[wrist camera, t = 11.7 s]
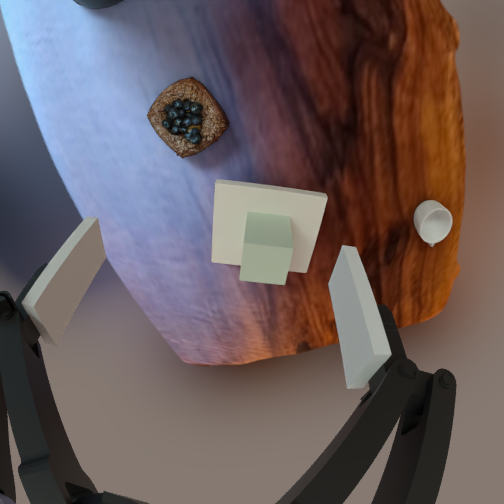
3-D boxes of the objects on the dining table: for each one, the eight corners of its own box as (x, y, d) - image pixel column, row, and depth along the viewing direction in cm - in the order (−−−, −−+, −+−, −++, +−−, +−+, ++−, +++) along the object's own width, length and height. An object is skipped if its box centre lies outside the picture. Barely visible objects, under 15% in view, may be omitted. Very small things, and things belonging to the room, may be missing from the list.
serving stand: (219, 172, 48) (215, 183, 45) (323, 186, 49) (327, 197, 45) (214, 247, 58) (211, 262, 54) (304, 258, 58) (306, 272, 55)
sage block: (247, 211, 47) (243, 242, 40) (289, 216, 48) (293, 248, 40) (243, 245, 52) (239, 280, 44) (282, 250, 52) (284, 285, 45)
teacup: (408, 198, 49) (420, 212, 44) (441, 191, 47) (454, 204, 43) (408, 240, 54) (418, 255, 50) (438, 232, 53) (449, 247, 48)
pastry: (186, 161, 47) (177, 174, 43) (143, 110, 42) (129, 117, 37) (238, 124, 43) (234, 132, 39) (193, 68, 38) (183, 69, 33)
